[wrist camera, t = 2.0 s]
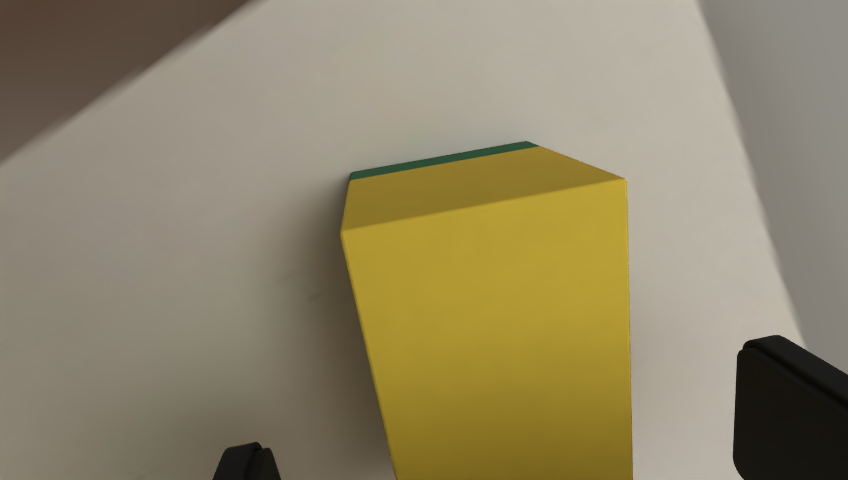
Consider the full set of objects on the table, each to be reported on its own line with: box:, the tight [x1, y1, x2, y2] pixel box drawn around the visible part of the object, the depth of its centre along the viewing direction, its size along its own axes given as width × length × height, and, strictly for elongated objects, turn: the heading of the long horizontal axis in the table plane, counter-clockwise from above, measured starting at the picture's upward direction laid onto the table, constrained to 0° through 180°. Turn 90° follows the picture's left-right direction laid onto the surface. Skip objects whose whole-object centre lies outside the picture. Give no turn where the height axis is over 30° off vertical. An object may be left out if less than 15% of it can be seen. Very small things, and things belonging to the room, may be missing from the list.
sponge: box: [340, 141, 633, 480], centre depth 11 cm, size 5×9×5 cm, turn 9°
